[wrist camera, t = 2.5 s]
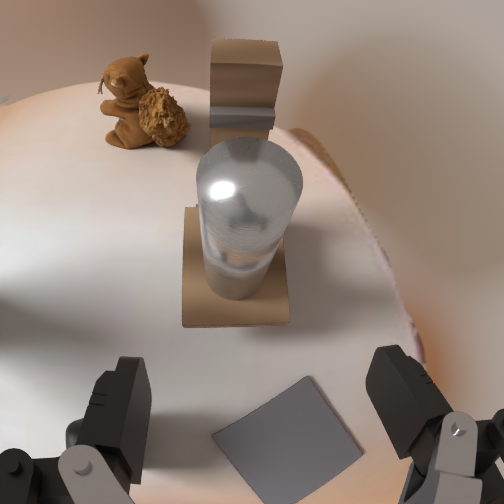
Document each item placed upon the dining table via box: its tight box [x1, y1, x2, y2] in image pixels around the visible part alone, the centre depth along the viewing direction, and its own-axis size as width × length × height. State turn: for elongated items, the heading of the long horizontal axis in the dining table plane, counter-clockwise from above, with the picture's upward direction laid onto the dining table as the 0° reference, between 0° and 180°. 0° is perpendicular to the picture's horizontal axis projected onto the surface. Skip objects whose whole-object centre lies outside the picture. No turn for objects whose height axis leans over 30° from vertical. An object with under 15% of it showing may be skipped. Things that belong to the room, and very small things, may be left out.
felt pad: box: [212, 376, 363, 504], centre depth 28 cm, size 12×12×1 cm
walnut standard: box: [182, 39, 290, 328], centre depth 25 cm, size 16×9×24 cm, turn 3°
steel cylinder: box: [196, 137, 303, 301], centre depth 21 cm, size 5×5×14 cm
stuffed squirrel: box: [97, 53, 191, 149], centre depth 37 cm, size 10×14×13 cm
